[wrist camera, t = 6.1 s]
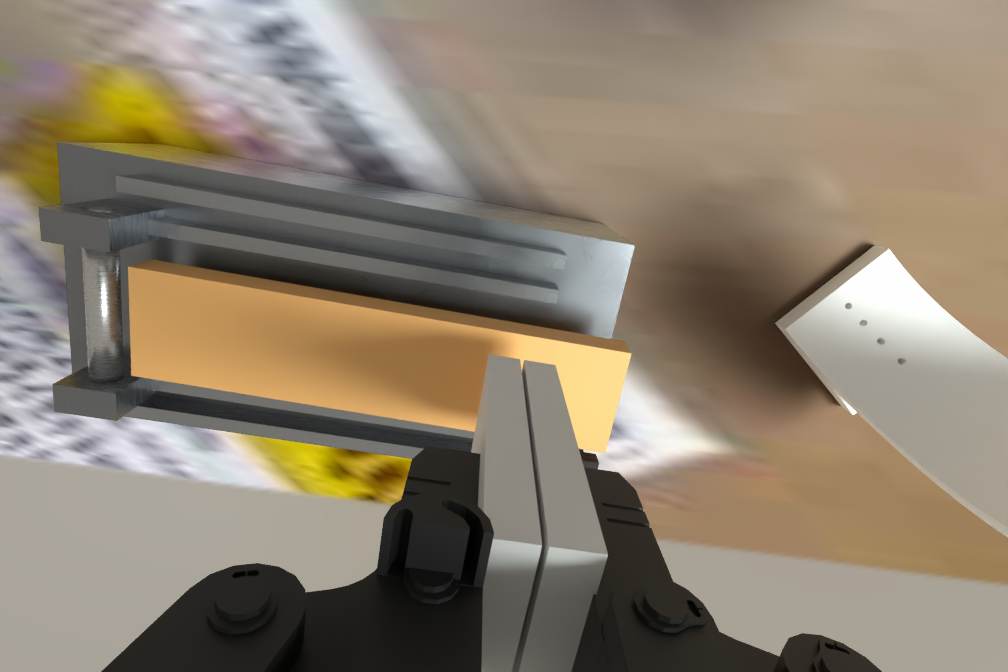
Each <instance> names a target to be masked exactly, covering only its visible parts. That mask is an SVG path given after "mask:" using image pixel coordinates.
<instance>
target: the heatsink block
mask: <svg viewBox="0 0 1008 672" xmlns="http://www.w3.org/2000/svg"><path fill="white" fill-rule="evenodd" d="M57 147H58V162H59V177H60V193H61V205H53V206H46V207H39V216H40V229H41V241H46V242H52V243H58V244H64V254H65V269H66V284H67V300H68V315H69V330H70V346H71V361H72V374H71V375H69V376H67V377H65V378H64V379H62V380H60V381H58V382H56V383H54V384H53V397H54V410H55V412H60V413H67V414H74V415H81V416H87V417H94V418H101V419H108V420H115V421H117V420H119V419H120V418H121V417H123V416H125V417H132V418H139V419H146V420H152V421H159V422H166V423H173V424H180V425H186V426H193V427H200V428H207V429H213V430H220V431H227V432H234V433H241V434H247V435H254V436H261V437H268V438H274V439H281V440H288V441H295V442H302V443H308V444H315V445H322V446H329V447H335V448H342V449H349V450H356V451H363V452H369V453H376V454H383V455H390V456H397V457H403V458H410V459H413V458H414V457H415V456H416V455H417V454H419V453H420V452H421V451H422V450H423V449H424V448H426V447H427V446H431V447H438V448H445V449H451V450H458V451H465V452H471V449H472V444H473V438H474V433H475V432H473V431H467V430H461V429H455V428H449V427H443V426H436V425H430V424H424V423H418V422H412V421H406V420H400V419H394V418H387V417H381V416H375V415H369V414H363V413H357V412H351V411H345V410H338V409H332V408H326V407H320V406H314V405H308V404H302V403H296V402H290V401H283V400H277V399H271V398H265V397H259V396H253V395H247V394H241V393H234V392H228V391H222V390H216V389H210V388H204V387H198V386H192V385H185V384H179V383H173V382H167V381H161V380H155V379H149V378H143V377H136V376H131V347H130V314H129V281H128V267H129V266H132V265H135V264H138V263H142V262H145V261H148V260H152V259H153V260H158V261H164V262H170V263H176V264H181V265H187V266H193V267H199V268H204V269H210V270H216V271H222V272H227V273H233V274H239V275H245V276H250V277H256V278H262V279H268V280H274V281H279V282H285V283H291V284H297V285H302V286H308V287H314V288H320V289H325V290H331V291H337V292H343V293H348V294H354V295H360V296H366V297H372V298H377V299H383V300H389V301H395V302H400V303H406V304H412V305H418V306H423V307H429V308H435V309H441V310H446V311H452V312H458V313H464V314H469V315H475V316H481V317H487V318H493V319H498V320H504V321H510V322H516V323H521V324H527V325H533V326H539V327H544V328H550V329H556V330H562V331H567V332H573V333H579V334H585V335H591V336H596V337H602V338H608V339H611V338H612V334H613V330H614V326H615V322H616V318H617V314H618V310H619V306H620V302H621V298H622V294H623V290H624V286H625V282H626V278H627V274H628V271H629V267H630V263H631V259H632V255H633V251H634V247H635V245H633V244H632V243H630V242H629V241H628V240H626V239H625V238H623V237H622V236H620V235H619V234H617V233H616V232H614V231H613V230H611V229H610V228H609V227H607V226H606V225H604V224H602V223H596V222H591V221H585V220H580V219H574V218H569V217H563V216H558V215H552V214H547V213H541V212H536V211H530V210H525V209H519V208H514V207H508V206H503V205H497V204H492V203H486V202H481V201H475V200H470V199H464V198H459V197H453V196H447V195H442V194H436V193H431V192H425V191H420V190H414V189H409V188H403V187H398V186H392V185H387V184H381V183H376V182H370V181H365V180H359V179H354V178H348V177H343V176H337V175H332V174H326V173H321V172H315V171H310V170H304V169H299V168H293V167H288V166H282V165H277V164H271V163H266V162H260V161H255V160H249V159H243V158H238V157H232V156H227V155H221V154H216V153H210V152H205V151H199V150H194V149H188V148H183V147H177V146H172V145H166V144H150V143H93V142H57ZM579 452H580V455H581V459H582V462H583V466H584V468H591V469H598V465H599V462H598V459H597V456H596V454H592V453H585V452H583V449H579Z"/></svg>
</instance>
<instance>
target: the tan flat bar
mask: <svg viewBox="0 0 1008 672" xmlns="http://www.w3.org/2000/svg"><path fill="white" fill-rule="evenodd" d="M128 281H129V314H130V347H131V376H136V377H143V378H149V379H155V380H161V381H167V382H173V383H179V384H185V385H192V386H198V387H204V388H210V389H216V390H222V391H228V392H234V393H241V394H247V395H253V396H259V397H265V398H271V399H277V400H283V401H290V402H296V403H302V404H308V405H314V406H320V407H326V408H332V409H338V410H345V411H351V412H357V413H363V414H369V415H375V416H381V417H387V418H394V419H400V420H406V421H412V422H418V423H424V424H430V425H436V426H443V427H449V428H455V429H461V430H467V431H473V432H475V427H476V422H477V416H478V410H479V405H480V399H481V394H482V388H483V383H484V377H485V372H486V366H487V361H488V355H489V354H491V355H497V356H503V357H509V358H515V359H520V361H521V369H522V368H523V363H524V360H528V361H534V362H540V363H546V364H552V365H556V368H557V372H558V376H559V379H560V383H561V387H562V390H563V394H564V397H565V401H566V405H567V408H568V412H569V415H570V419H571V423H572V426H573V430H574V433H575V437H576V441H577V444H578V448H579V449H583V450H589V451H596V452H602V453H605V451H606V448H607V444H608V440H609V436H610V433H611V429H612V425H613V421H614V417H615V414H616V410H617V406H618V402H619V399H620V395H621V391H622V387H623V384H624V380H625V376H626V372H627V369H628V365H629V361H630V357H631V352H630V350H629V349H628V347H627V345H626V344H625V342H624V341H619V340H614V339H608V338H602V337H596V336H591V335H585V334H579V333H573V332H567V331H562V330H556V329H550V328H544V327H539V326H533V325H527V324H521V323H516V322H510V321H504V320H498V319H493V318H487V317H481V316H475V315H469V314H464V313H458V312H452V311H446V310H441V309H435V308H429V307H423V306H418V305H412V304H406V303H400V302H395V301H389V300H383V299H377V298H372V297H366V296H360V295H354V294H348V293H343V292H337V291H331V290H325V289H320V288H314V287H308V286H302V285H297V284H291V283H285V282H279V281H274V280H268V279H262V278H256V277H250V276H245V275H239V274H233V273H227V272H222V271H216V270H210V269H204V268H199V267H193V266H187V265H181V264H176V263H170V262H164V261H158V260H153V259H152V260H148V261H145V262H142V263H138V264H135V265H132V266H129V267H128Z"/></svg>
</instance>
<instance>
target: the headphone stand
mask: <svg viewBox="0 0 1008 672" xmlns="http://www.w3.org/2000/svg"><path fill="white" fill-rule="evenodd" d="M775 324H776V325H777V326H778V328H779V329H780V330H781V331H782V333H783V334H784V335H785V336H786V338H787V339H788V340H789V341H790V343H791V344H792V345H793V346H794V348H795V349H796V350H797V351H798V353H799V354H800V355H801V356H802V358H803V359H804V360H805V361H806V363H807V364H808V365H809V366H810V368H811V369H812V370H813V371H814V373H815V374H816V375H817V376H818V378H819V379H820V380H821V381H822V383H823V384H824V385H825V386H826V388H827V389H828V390H829V391H830V393H831V394H832V395H833V396H834V398H835V399H836V400H837V401H838V403H839V404H840V405H841V406H842V407H843V408H844V409H846V410H847V411H848V412H850V413H851V414H852V415H854V414H856V413H858V414H859V415H860V416H861V417H862V418H863V419H864V420H865V421H866V422H867V423H868V424H869V425H870V426H871V427H873V428H874V429H875V430H876V431H877V432H878V433H879V434H880V435H881V436H882V437H883V438H884V439H885V440H886V441H888V442H889V443H890V444H891V445H892V446H893V447H894V448H895V449H896V450H897V451H899V452H900V453H901V454H902V455H903V456H904V457H905V458H906V459H908V460H909V461H910V462H911V463H912V464H913V465H915V466H916V467H917V468H918V469H919V470H920V471H921V472H923V473H924V474H925V475H926V476H927V477H929V478H930V479H931V480H932V481H933V482H935V483H936V484H937V485H938V486H939V487H941V488H942V489H943V490H944V491H946V492H947V493H948V494H949V495H951V496H952V497H953V498H954V499H956V500H957V501H958V502H959V503H961V504H962V505H963V506H965V507H966V508H967V509H969V510H970V511H971V512H973V513H974V514H975V515H977V516H978V517H979V518H981V519H982V520H983V521H985V522H986V523H988V524H989V525H990V526H992V527H993V528H995V529H996V530H997V531H999V532H1000V533H1002V534H1003V535H1005V536H1006V537H1008V358H1006V357H1005V356H1003V355H1002V354H1000V353H999V352H997V351H996V350H995V349H993V348H992V347H990V346H989V345H987V344H986V343H985V342H983V341H982V340H981V339H979V338H978V337H977V336H975V335H974V334H973V333H972V332H970V331H969V330H968V329H967V328H965V327H964V326H963V325H962V324H960V323H959V322H958V321H957V320H956V319H954V318H953V317H952V316H951V315H950V314H949V313H947V312H946V311H945V310H944V309H943V308H942V307H941V306H940V305H939V304H938V303H937V302H935V301H934V300H933V299H932V298H931V297H930V296H929V295H928V294H927V293H926V292H925V291H924V290H923V289H922V288H921V287H920V286H919V285H918V283H917V282H916V281H915V280H914V279H913V278H912V277H911V276H910V275H909V274H908V272H907V271H906V270H905V269H904V267H903V266H902V265H901V264H900V263H899V261H898V260H897V259H896V257H895V256H894V255H893V253H892V252H891V251H890V249H888V248H884V247H880V246H876V245H874V246H873V247H872V248H870V249H869V250H868V251H867V252H865V253H864V254H863V255H861V256H860V257H859V258H858V259H856V260H855V261H854V262H852V263H851V264H850V265H849V266H847V267H846V268H845V269H843V270H842V271H841V272H840V273H838V274H837V275H836V276H834V277H833V278H832V279H831V280H829V281H828V282H827V283H825V284H824V285H823V286H822V287H820V288H819V289H818V290H817V291H815V292H814V293H813V294H811V295H810V296H809V297H808V298H806V299H805V300H804V301H802V302H801V303H800V304H799V305H797V306H796V307H795V308H793V309H792V310H791V311H790V312H788V313H787V314H786V315H784V316H783V317H782V318H781V319H779V320H778V321H777V322H775Z"/></svg>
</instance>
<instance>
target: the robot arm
mask: <svg viewBox="0 0 1008 672" xmlns="http://www.w3.org/2000/svg"><path fill="white" fill-rule="evenodd" d="M102 672H881V670H879V669H878V668H877V667H876V666H875V665H874V664H873V663H871V662H870V661H869V660H868V659H867V658H866V657H864V656H862V655H861V654H859V653H857V652H856V651H854V650H853V649H851V648H849V647H848V646H846V645H844V644H843V643H840V642H837V641H835V640H832V639H829V638H827V637H824V636H821V635H813V634H803V633H802V634H799V635H796V636H793V637H791V638H789V639H788V641H787V643H786V644H785V646H784V648H783V650H782V653H781V655H780V657H779V656H777V655H774V654H771V653H769V652H766V651H764V650H761V649H759V648H756V647H753V646H751V645H748V644H746V643H743V642H740V641H738V640H735V639H733V638H731V637H729V636H727V635H725V634H723V633H721V632H719V630H718V628H717V626H716V624H715V622H714V619H713V618H712V616H711V615H710V613H709V612H708V610H707V609H706V607H705V606H704V604H703V603H702V602H701V601H700V600H699V599H698V598H696V597H695V596H694V595H693V594H692V593H691V592H690V591H688V590H687V589H685V588H684V587H682V586H680V585H678V584H676V583H674V582H673V580H672V578H671V575H670V573H669V570H668V568H667V566H666V563H665V561H664V558H663V556H662V553H661V551H660V548H659V546H658V544H657V541H656V539H655V536H654V534H653V531H652V529H651V528H649V522H648V519H647V517H646V514H645V512H643V507H642V505H641V502H640V500H639V497H638V495H637V492H636V490H635V489H634V488H633V487H632V486H631V485H630V484H629V483H628V482H627V481H626V480H625V479H624V478H623V477H622V476H621V475H620V474H619V473H618V472H611V471H604V470H598V469H591V468H584V466H583V462H582V459H581V455H580V452H579V448H578V444H577V441H576V437H575V433H574V430H573V426H572V423H571V419H570V415H569V412H568V408H567V405H566V401H565V397H564V394H563V390H562V387H561V383H560V379H559V376H558V372H557V368H556V365H552V364H546V363H540V362H534V361H528V360H524V363H523V368H522V369H521V361H520V359H515V358H509V357H503V356H497V355H491V354H489V355H488V361H487V366H486V372H485V377H484V383H483V388H482V394H481V399H480V405H479V410H478V416H477V422H476V427H475V433H474V438H473V444H472V449H471V452H465V451H458V450H451V449H445V448H438V447H431V446H427V447H426V448H424V449H423V450H422V451H421V452H420V453H419V454H417V455H416V456H415V457H414V458H413V459H412V462H411V466H410V469H409V473H408V477H407V481H406V484H405V488H404V493H403V496H402V499H401V500H400V501H399V502H397V503H395V504H394V505H392V506H391V508H390V509H389V511H388V512H387V514H386V516H385V517H384V521H383V529H382V536H381V545H380V552H379V559H378V567H377V569H376V570H375V571H374V572H373V573H372V574H370V575H369V576H367V577H366V578H364V579H363V580H360V581H358V582H356V583H353V584H351V585H348V586H345V587H340V588H335V589H330V590H322V591H314V592H306V593H305V589H304V587H303V586H302V584H301V583H300V582H299V580H298V579H297V577H296V576H295V575H293V574H291V573H289V572H287V571H285V570H284V569H282V568H280V567H277V566H271V565H264V564H258V563H256V564H246V565H237V566H232V567H229V568H226V569H224V570H221V571H218V572H215V573H213V574H210V575H208V576H207V577H206V578H204V579H203V580H201V581H200V582H198V583H197V584H195V585H194V586H193V587H191V588H190V589H189V590H188V591H187V592H186V593H184V595H182V596H181V597H180V598H179V599H178V600H177V601H176V602H175V603H174V604H173V605H172V606H171V607H170V608H169V609H167V610H166V611H165V612H164V613H163V614H162V615H161V616H160V617H159V618H158V619H157V620H156V621H155V622H154V623H153V624H151V625H150V626H149V627H148V628H147V629H146V630H145V631H144V632H143V633H142V634H141V635H140V636H139V637H138V638H137V639H136V640H135V641H133V642H132V643H131V644H130V645H129V646H128V647H127V648H126V649H125V650H124V651H123V652H122V653H121V654H120V655H119V656H117V657H116V658H115V659H114V660H113V661H112V662H111V663H110V664H109V665H108V666H107V667H106V668H105V669H104V670H103V671H102Z"/></svg>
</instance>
